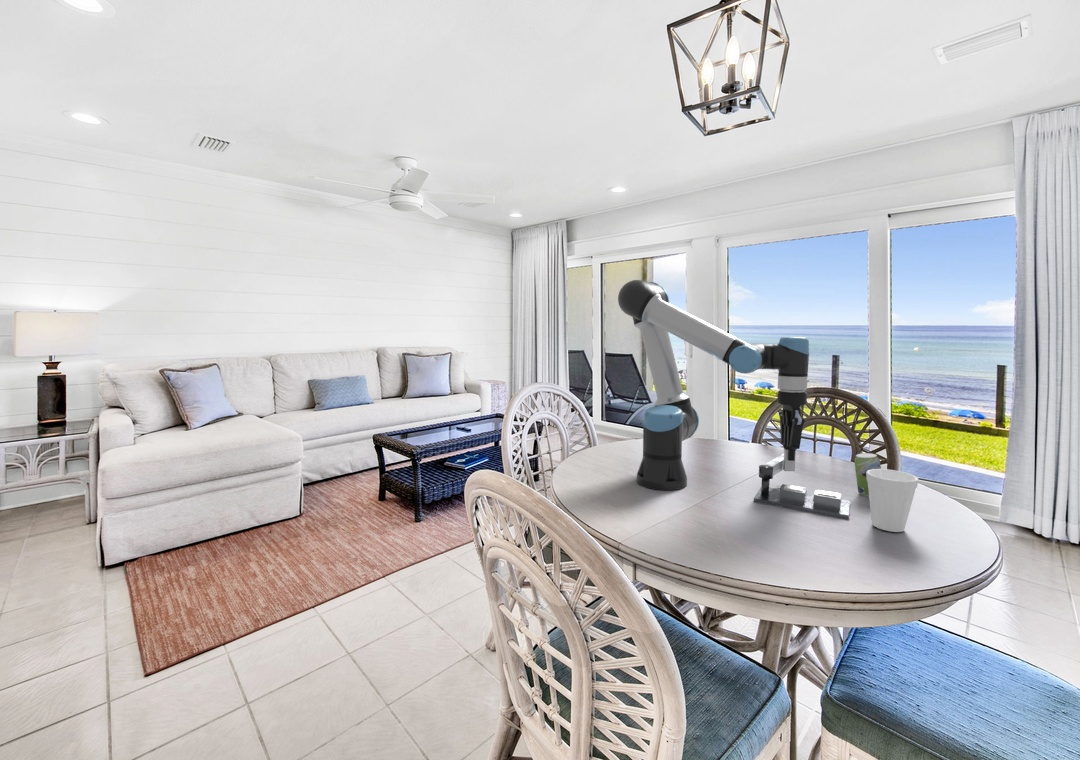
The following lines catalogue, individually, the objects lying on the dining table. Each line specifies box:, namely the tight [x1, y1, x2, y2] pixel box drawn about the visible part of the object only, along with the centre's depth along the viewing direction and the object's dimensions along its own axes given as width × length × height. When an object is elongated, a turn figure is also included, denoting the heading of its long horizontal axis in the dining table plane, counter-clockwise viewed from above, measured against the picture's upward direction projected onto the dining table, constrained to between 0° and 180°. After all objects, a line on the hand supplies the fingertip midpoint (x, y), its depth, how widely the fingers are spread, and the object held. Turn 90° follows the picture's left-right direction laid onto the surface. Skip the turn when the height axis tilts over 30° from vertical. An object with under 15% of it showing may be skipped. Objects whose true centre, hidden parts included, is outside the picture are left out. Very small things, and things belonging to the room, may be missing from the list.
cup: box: [866, 468, 920, 533], centre depth 113 cm, size 10×10×13 cm
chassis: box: [753, 478, 851, 520], centre depth 129 cm, size 22×12×6 cm, turn 56°
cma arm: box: [758, 452, 784, 480], centre depth 140 cm, size 23×4×3 cm, turn 136°
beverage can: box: [853, 452, 882, 498], centre depth 135 cm, size 6×7×12 cm
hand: (788, 470), depth 139 cm, fingers closed
